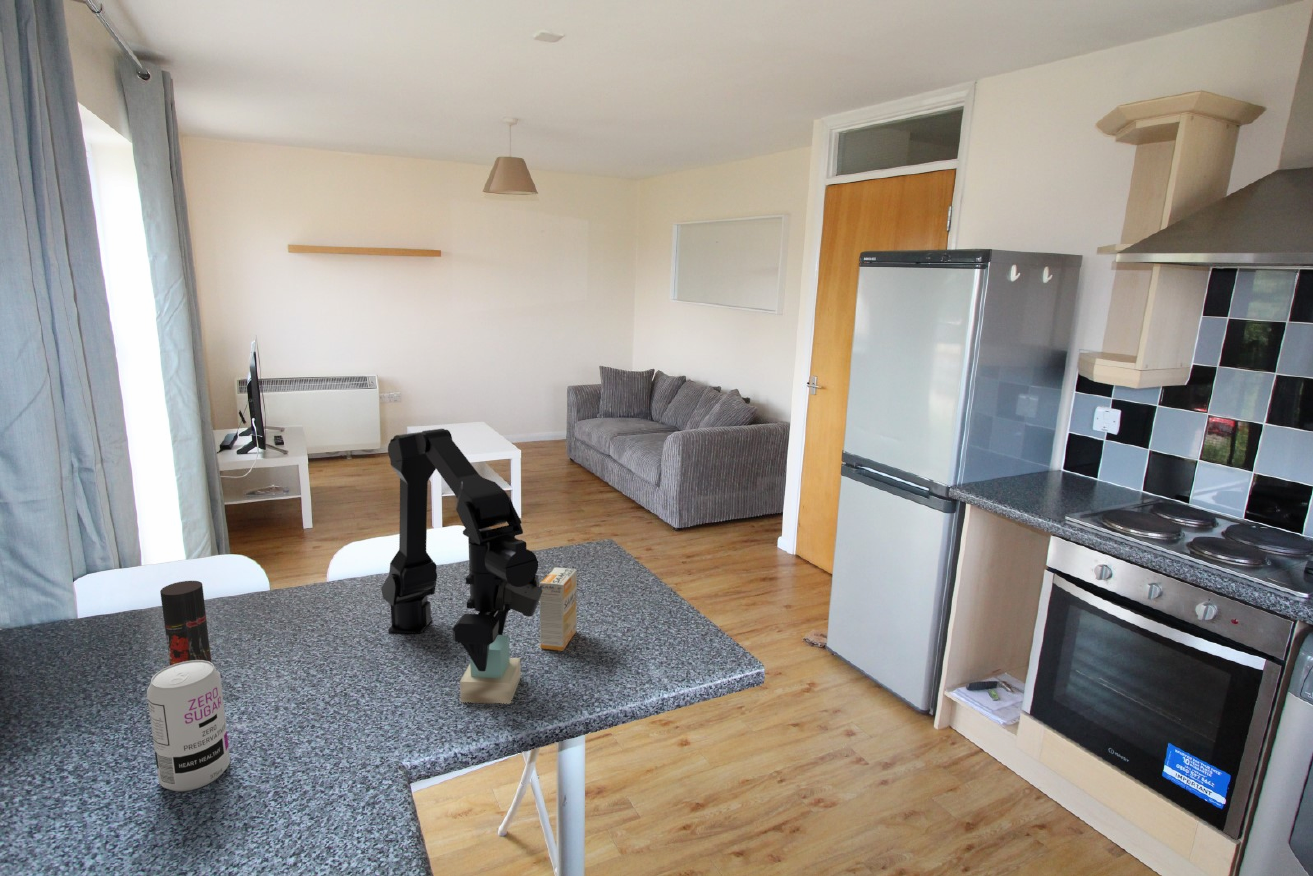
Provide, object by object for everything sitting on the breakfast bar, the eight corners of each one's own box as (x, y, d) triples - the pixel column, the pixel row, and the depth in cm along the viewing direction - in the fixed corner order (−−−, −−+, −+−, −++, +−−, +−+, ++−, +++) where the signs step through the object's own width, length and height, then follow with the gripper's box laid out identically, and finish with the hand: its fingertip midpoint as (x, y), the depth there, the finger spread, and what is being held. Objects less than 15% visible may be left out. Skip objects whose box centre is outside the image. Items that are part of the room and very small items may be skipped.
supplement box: (564, 652, 133) (563, 585, 130) (539, 649, 134) (538, 582, 131) (578, 631, 141) (577, 568, 138) (554, 629, 141) (553, 566, 139)
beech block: (460, 704, 116) (460, 681, 115) (474, 678, 124) (473, 656, 123) (510, 705, 116) (509, 683, 115) (520, 679, 124) (520, 658, 123)
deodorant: (219, 665, 126) (210, 584, 123) (185, 681, 121) (174, 597, 117) (197, 657, 128) (187, 578, 125) (163, 673, 123) (152, 590, 120)
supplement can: (180, 756, 102) (167, 658, 99) (241, 754, 102) (231, 657, 99) (145, 795, 94) (130, 691, 91) (212, 793, 94) (199, 689, 91)
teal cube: (470, 676, 117) (469, 648, 116) (480, 661, 122) (479, 633, 121) (501, 678, 116) (500, 650, 115) (509, 663, 121) (509, 635, 120)
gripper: (523, 593, 106) (525, 689, 109) (549, 548, 124) (550, 632, 127) (449, 590, 106) (453, 686, 110) (485, 545, 125) (487, 629, 128)
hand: (490, 656), depth 119 cm, fingers open, 9 cm apart
